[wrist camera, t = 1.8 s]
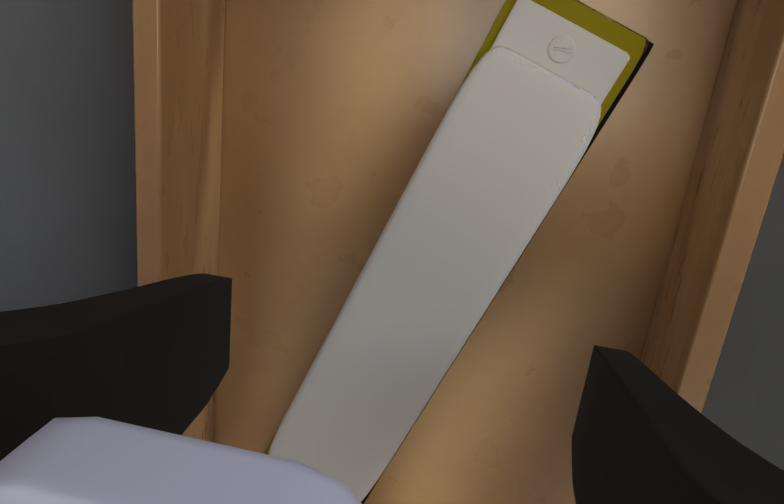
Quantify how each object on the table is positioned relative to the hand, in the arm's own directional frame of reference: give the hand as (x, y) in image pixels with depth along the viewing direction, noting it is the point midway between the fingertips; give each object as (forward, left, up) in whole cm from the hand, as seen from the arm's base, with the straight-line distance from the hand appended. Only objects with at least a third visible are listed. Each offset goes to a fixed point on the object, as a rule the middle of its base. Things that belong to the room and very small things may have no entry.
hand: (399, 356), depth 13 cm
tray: (0, 0, -4) cm, 4 cm away
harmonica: (0, 0, -4) cm, 4 cm away
